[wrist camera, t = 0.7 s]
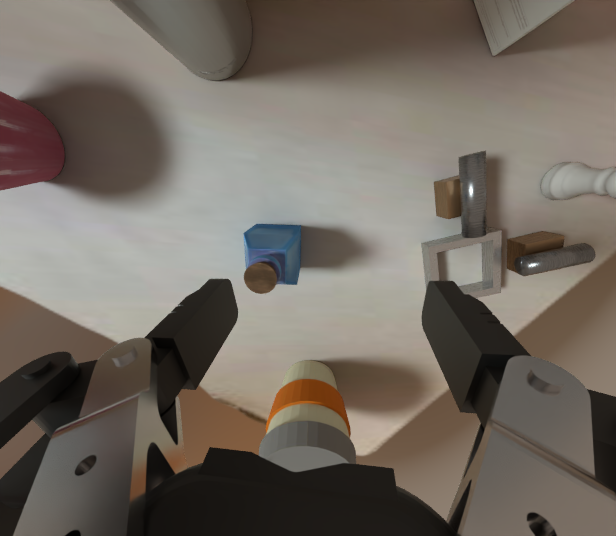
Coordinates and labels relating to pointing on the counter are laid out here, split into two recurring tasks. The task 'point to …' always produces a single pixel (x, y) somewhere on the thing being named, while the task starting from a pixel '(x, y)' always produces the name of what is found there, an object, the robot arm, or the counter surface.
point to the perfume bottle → (272, 256)
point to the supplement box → (514, 19)
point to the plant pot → (27, 145)
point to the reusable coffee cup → (308, 421)
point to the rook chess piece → (578, 181)
